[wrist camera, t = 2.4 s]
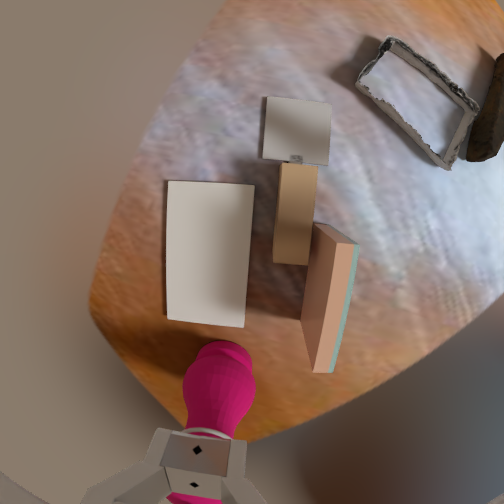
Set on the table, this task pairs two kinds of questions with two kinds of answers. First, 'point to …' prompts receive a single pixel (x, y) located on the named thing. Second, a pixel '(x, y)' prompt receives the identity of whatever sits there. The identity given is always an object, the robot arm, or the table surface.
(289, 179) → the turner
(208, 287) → the pad
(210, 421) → the pepper mill
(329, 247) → the tile
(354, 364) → the table surface
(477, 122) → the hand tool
